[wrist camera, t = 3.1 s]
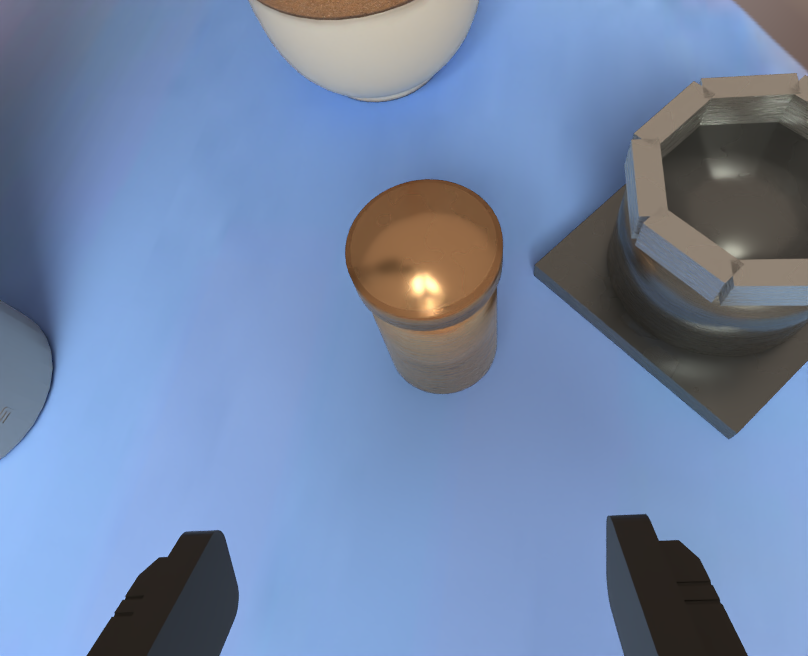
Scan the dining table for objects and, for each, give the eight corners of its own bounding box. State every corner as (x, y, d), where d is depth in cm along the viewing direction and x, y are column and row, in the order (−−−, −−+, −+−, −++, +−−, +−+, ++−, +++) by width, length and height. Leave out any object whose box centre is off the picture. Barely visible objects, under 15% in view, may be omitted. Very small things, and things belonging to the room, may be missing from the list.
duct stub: (533, 275, 30) (543, 180, 24) (686, 138, 32) (735, 13, 25) (728, 439, 26) (809, 381, 19) (891, 271, 28) (1017, 164, 21)
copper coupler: (363, 342, 30) (313, 244, 22) (445, 270, 31) (427, 152, 23) (439, 422, 28) (416, 347, 20) (525, 343, 29) (536, 241, 21)
